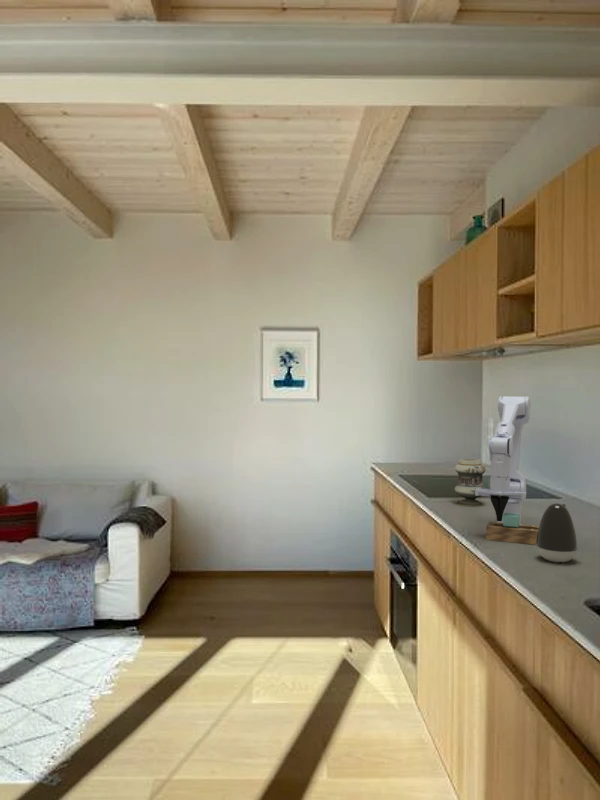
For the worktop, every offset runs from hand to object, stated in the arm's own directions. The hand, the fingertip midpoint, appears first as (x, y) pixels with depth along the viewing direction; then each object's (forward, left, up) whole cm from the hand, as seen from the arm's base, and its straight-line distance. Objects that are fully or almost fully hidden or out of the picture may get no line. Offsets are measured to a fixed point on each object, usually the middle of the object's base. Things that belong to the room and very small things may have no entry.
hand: (499, 520), depth 190 cm
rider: (0, +3, -3) cm, 5 cm away
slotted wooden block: (0, +9, -5) cm, 10 cm away
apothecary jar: (-55, -16, -6) cm, 58 cm away
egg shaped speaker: (+19, +17, -6) cm, 26 cm away
